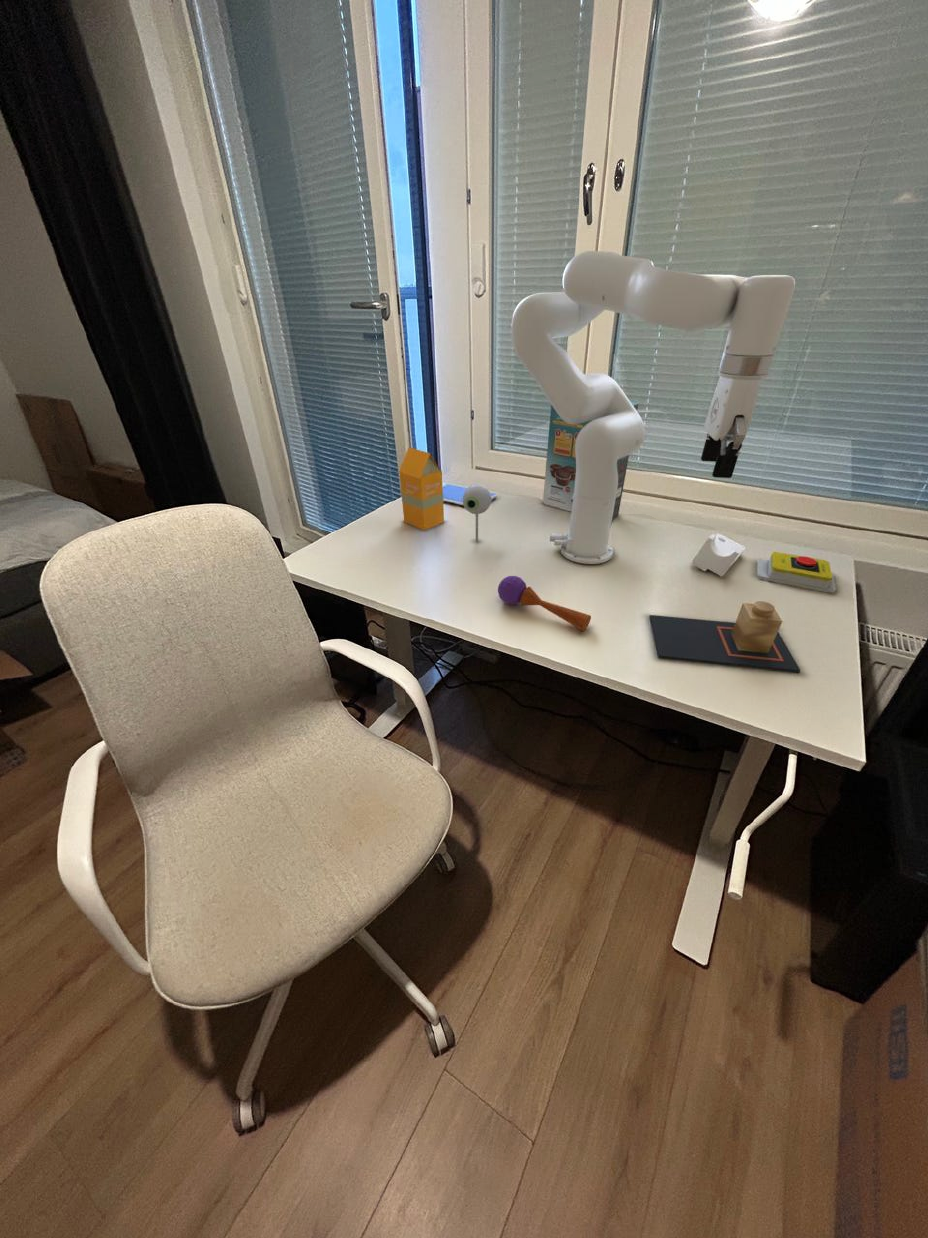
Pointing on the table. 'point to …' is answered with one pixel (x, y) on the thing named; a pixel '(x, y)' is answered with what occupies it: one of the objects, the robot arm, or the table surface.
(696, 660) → the desk mat
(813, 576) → the emergency button
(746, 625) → the piece
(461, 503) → the tablet
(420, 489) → the orange juice
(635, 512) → the table surface
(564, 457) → the cake mix box
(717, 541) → the bracket
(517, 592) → the kendama
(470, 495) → the eyeball on stand
